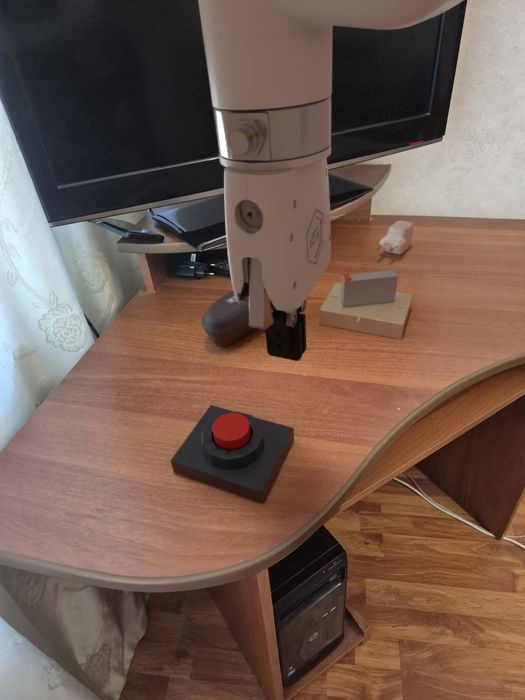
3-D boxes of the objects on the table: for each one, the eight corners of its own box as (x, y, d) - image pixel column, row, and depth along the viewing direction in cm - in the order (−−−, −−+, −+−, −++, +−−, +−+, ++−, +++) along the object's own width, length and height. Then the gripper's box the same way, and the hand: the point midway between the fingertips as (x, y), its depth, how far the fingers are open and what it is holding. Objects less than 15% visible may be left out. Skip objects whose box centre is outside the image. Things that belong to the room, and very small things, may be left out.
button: (256, 428, 54) (255, 418, 52) (240, 455, 50) (239, 445, 49) (224, 418, 55) (223, 409, 54) (207, 444, 52) (205, 434, 51)
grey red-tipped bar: (390, 295, 77) (394, 268, 74) (394, 302, 75) (398, 274, 72) (339, 300, 77) (341, 274, 73) (343, 307, 75) (344, 280, 72)
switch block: (294, 439, 56) (293, 418, 54) (263, 503, 49) (261, 482, 47) (212, 415, 61) (208, 394, 58) (173, 472, 54) (167, 450, 51)
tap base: (412, 303, 80) (414, 288, 78) (399, 345, 71) (401, 329, 69) (337, 292, 85) (338, 277, 83) (316, 329, 76) (316, 313, 74)
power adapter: (392, 266, 92) (396, 240, 88) (371, 261, 94) (373, 235, 90) (413, 247, 98) (417, 221, 95) (393, 242, 101) (396, 217, 97)
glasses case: (261, 291, 85) (269, 261, 79) (299, 326, 81) (311, 297, 75) (186, 331, 75) (189, 300, 69) (225, 373, 72) (233, 344, 66)
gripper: (284, 166, 22) (297, 420, 33) (358, 109, 33) (349, 316, 44) (161, 162, 25) (211, 398, 36) (266, 111, 35) (279, 305, 46)
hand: (286, 352), depth 40 cm, fingers closed
